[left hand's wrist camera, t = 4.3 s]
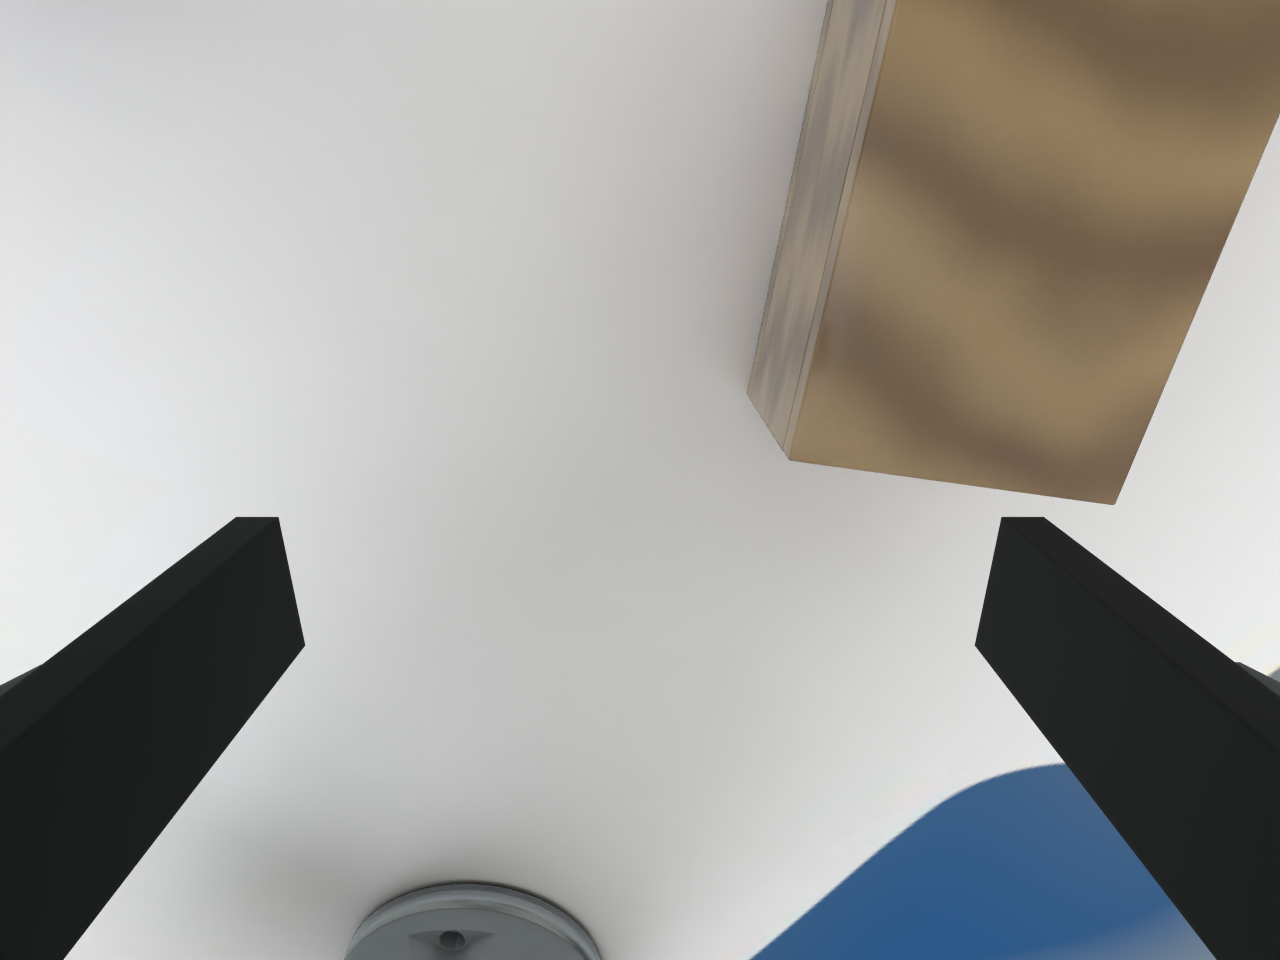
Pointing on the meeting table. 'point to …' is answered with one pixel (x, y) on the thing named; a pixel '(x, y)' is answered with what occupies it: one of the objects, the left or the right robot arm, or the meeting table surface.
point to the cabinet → (1007, 231)
